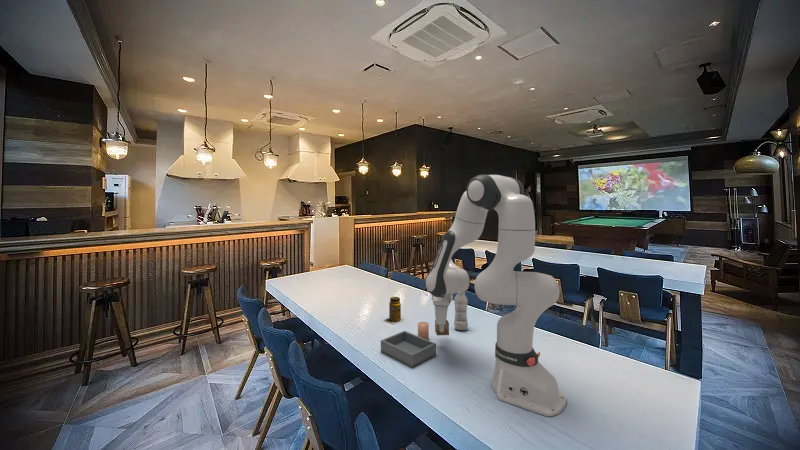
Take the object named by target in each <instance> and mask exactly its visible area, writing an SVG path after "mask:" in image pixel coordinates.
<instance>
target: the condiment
mask: <svg viewBox="0 0 800 450" xmlns="http://www.w3.org/2000/svg"><path fill="white" fill-rule="evenodd" d="M389 300H390V301H389V307H388V308H389V310H388V311H389V313H388V314H389V315H388V316H389V318H386V319H383V321H384V322H387V323H388V324H390V325H391V324H392V325H394V324H397V323H400V322H403V321H404V319H403V318H402V312H401V311H402V310H401V309H402V307H401V305H402V304H401V298H400V297H399V296H392V297H390V299H389Z"/></svg>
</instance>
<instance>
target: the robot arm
mask: <svg viewBox="0 0 800 450" xmlns="http://www.w3.org/2000/svg"><path fill="white" fill-rule="evenodd" d="M492 210H495V211H496V212H497V216H498V233H497V235H498V236H497V247H496V248H497V249H496V252H495V256H494V258H493V260H492V261H491V263H490V264H489V266H487V267H486V268H485V269H484V270H482V271H481V272H480V273H479V274H478V275H476V279H475V280H474V291H475V294H476V296H477V297H478V299H479V300H481V301H482V302H486V303H488V304H489V303H490V304H494V305H505V306H515V307H516V308H515V309H514V310H512V311H511V312H509V313H506V314H504V315H502V316H501V317H500V318H499V319H498V320H497V323H496V342H495V346H494V347H495V348H494V357H495V364H494V365H495V366H494V371H493V375H492V379H491V382H490V385H491V388H492V389H493V390H494V392H495V393H496V397H497V399H498V400H499V401H502V402H505V403H507V404H510V405H513V406H516V407H519V408H522V409H525V410H527V411H530V412H533V413H536V414H538V415H541V416H546V417H554V416H557V415H558V414H560V413H561V412H562V411H563V410H564V409H565V408H566V405H567V397H566V395H565V393H564V392H562V391H560V390H559V386H558V381H557V379H556V377H555V376H554V375H553V374H552V373H551V372H550V371H549V370H548V369H547V368H545V367H544V365H543V364H541V363H540V361H539V358H540V356H541V352H540V351H539V352H538V353H537V352H536V351H535V349H534V346H533V341H534V331H535V325H536V323H537V321H538V319H539V317H540V316H541V315H542V314H543V313H544V312H545V311H546V310H547V309H550V307H553V306H554V305H555V304H556V303H557V302H558V300H559V298H560V292H561V291H560V286H559V284H558V282H557V280H556V278H554V276H552V275H549V274H546V273H541V272H537V271H516V270H514V268H515V266H516V265H518V264H519V263H521V262H523V261H527V260H528V259H530V258H531V257H532V256H533V255H534V254H535V251H536V216H535V209H534V203H533V200H532V199H531V198H530V197H528V196H527V195H525V186H524V185H523V183H522V182H521V181H520V180H519V179H518V178H514V177H512V176H505V175H500V174H478V175H475V176H474V177H472V178H471V179H470V180H469V181H468V183H467V186H466V190H465V191H464V192H463V194H462V195H461V197H460V200H459V203H458V206H457V209H456V213H455V216H454V220H453V222H452V225H451V227H450V228H449V229H448V230H447V231H446V232H445V233H444V235H443V236H442V238H441V240H440V244H439V246H438V248H437V252H436V254H435V257H434V260H433V263H432V265H431V268H430V270H429V271H428V273H427V275H426V277H425V282H424V285H425V288H426V290H427V292H428V293H429V294H430V295H431V300H432V304H433V306H434V317H435V320H436V324H437V325H439V331H440V332H444V325H445V324H446V319H447V316H448V310H449V306H450V305H451V303H452V302H454V294H457V293H461V292H464V291H465V292H467V291H468V290H469V288H470V286H471V277H470V275H469V273H468V272H467V270H465V269H464V268H461V267H459V266H458V265H456V264H455V263H454V261H453V259H452V258H453V255H454V254H455V253H456V252H457V251H458V250H459V249H461V248H463V247H465V246H466V245H469V244H472V243H474V242H475V241H476V240H478V239H479V238H480V237H481V235H482V233H483V231H484V227H485V223H486V219H487V216H488V212H489V211H492Z"/></svg>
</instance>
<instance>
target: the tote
mask: <svg viewBox="0 0 800 450" xmlns="http://www.w3.org/2000/svg"><path fill="white" fill-rule="evenodd" d="M380 353H382V354H383V355H385V356H388V357H389V358H391V359H393V360H395V361H397V362H399V363H401V364H403V365H404V366H406V367H409V368H411V369H414V368H415V367H418V366H419V365H421V364H423V363H424V362H427V361H429V360H431V359H432V358H434V357H436V356H437V343H436V342H433V341H432V340H431V341H430V340H426V339H424V338H421V337H419V336H418V334H417V335H416V334H414V333H412V332H409V331H406V330H403V331H400V332H398V333H395V334H393V335H390V336H388V337H385V338H383V339H380Z"/></svg>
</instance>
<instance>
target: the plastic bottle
mask: <svg viewBox="0 0 800 450" xmlns="http://www.w3.org/2000/svg"><path fill="white" fill-rule="evenodd" d="M468 301H469V300H468V297H467V296H466V291H464V292H461V293H456V295H455V296H454V297H453V302H454V313H455V314H454V322H453V326H454V328H455V330H457V331H466V330H467V329H468V326H469V323H468V317H467V316H468V315H467V313H468V312H467V311H468Z"/></svg>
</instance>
